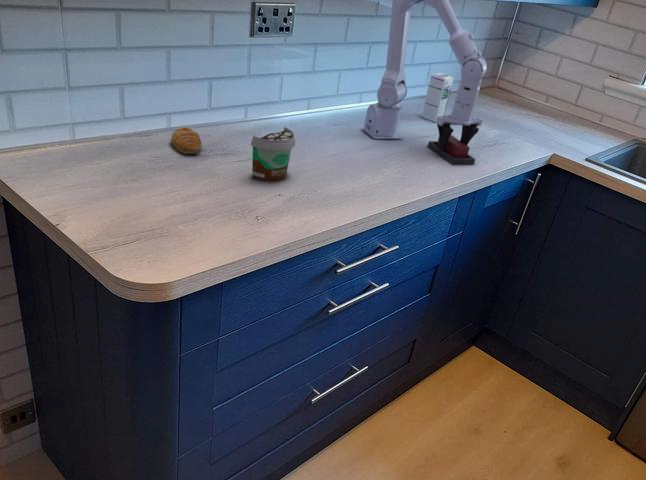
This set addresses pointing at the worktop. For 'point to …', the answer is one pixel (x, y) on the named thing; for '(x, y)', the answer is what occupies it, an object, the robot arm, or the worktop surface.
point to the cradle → (448, 157)
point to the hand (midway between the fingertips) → (451, 149)
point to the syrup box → (437, 96)
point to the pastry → (186, 140)
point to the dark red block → (456, 148)
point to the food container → (272, 155)
